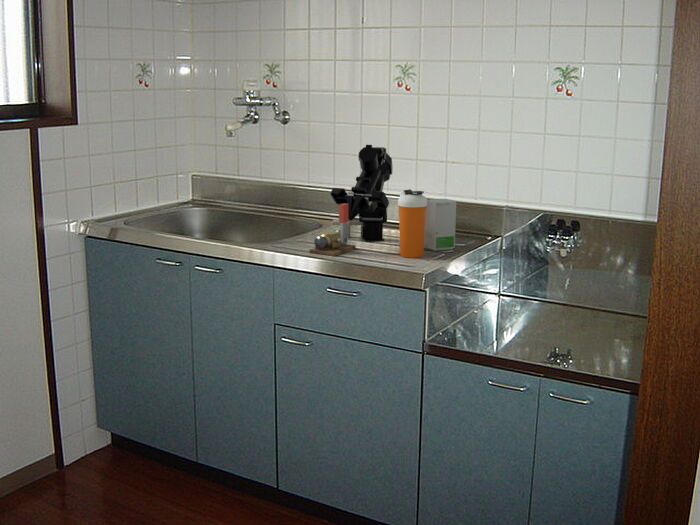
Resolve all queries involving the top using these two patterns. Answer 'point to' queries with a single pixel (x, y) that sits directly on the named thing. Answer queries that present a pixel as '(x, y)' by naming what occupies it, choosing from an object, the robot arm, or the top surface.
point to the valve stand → (330, 244)
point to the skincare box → (440, 224)
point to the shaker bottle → (412, 223)
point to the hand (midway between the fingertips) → (350, 219)
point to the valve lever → (343, 223)
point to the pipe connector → (348, 225)
